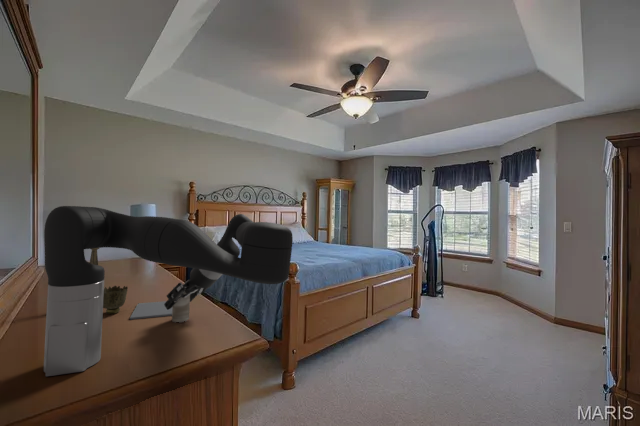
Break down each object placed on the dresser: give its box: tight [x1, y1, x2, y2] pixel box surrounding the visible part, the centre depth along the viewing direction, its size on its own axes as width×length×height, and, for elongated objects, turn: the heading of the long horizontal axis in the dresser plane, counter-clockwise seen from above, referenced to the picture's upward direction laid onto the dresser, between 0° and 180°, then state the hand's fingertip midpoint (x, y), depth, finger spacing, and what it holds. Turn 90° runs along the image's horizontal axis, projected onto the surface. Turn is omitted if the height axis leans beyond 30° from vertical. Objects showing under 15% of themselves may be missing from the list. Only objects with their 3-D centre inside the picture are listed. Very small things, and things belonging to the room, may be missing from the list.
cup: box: [103, 285, 128, 315], centre depth 95 cm, size 8×7×8 cm
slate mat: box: [129, 300, 172, 321], centre depth 100 cm, size 16×16×1 cm
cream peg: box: [171, 286, 191, 323], centre depth 90 cm, size 5×5×10 cm
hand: (177, 303), depth 91 cm, fingers open, 8 cm apart
